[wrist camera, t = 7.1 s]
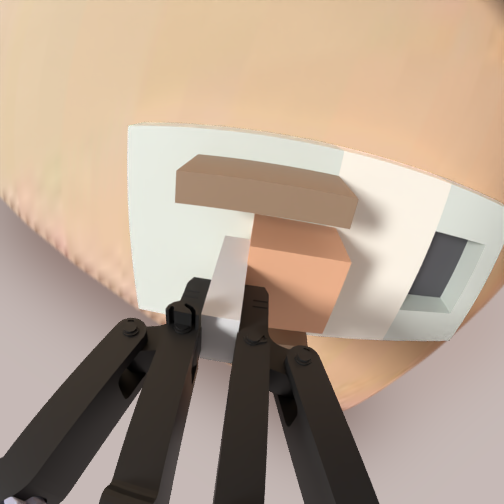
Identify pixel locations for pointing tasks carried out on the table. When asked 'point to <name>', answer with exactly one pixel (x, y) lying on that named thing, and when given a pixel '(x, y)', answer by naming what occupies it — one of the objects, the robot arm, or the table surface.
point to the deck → (311, 211)
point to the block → (297, 271)
